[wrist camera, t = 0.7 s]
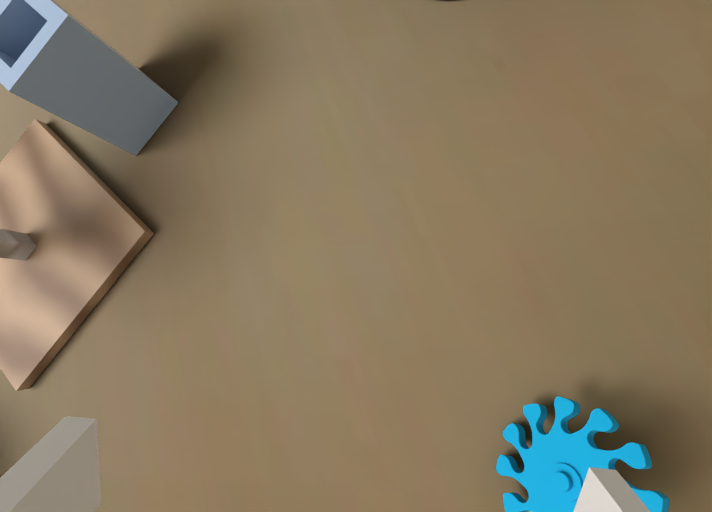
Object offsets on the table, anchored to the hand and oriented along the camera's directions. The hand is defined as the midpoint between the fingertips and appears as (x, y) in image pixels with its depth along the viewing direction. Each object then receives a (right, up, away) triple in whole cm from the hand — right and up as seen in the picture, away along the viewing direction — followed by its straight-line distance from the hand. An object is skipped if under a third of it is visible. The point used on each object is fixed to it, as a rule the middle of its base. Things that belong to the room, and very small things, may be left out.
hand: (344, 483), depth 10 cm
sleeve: (-23, +21, +30) cm, 43 cm away
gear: (+14, -9, +17) cm, 24 cm away
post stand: (-33, +7, +30) cm, 45 cm away
